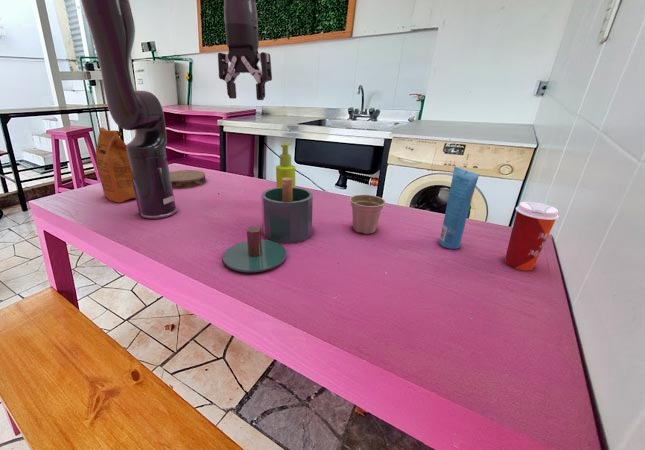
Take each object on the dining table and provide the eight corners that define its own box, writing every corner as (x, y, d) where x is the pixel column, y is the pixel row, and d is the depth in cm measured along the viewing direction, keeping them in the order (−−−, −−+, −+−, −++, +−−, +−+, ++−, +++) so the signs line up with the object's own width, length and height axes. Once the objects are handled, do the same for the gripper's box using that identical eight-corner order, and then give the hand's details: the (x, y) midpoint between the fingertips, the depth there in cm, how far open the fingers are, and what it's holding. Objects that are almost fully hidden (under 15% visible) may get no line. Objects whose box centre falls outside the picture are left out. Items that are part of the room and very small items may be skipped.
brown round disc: (176, 176, 126) (175, 169, 125) (212, 178, 124) (211, 171, 123) (152, 187, 111) (151, 179, 110) (193, 189, 110) (192, 181, 109)
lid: (209, 265, 64) (205, 235, 61) (248, 239, 76) (246, 213, 73) (264, 281, 59) (262, 250, 56) (297, 251, 71) (296, 223, 68)
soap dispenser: (297, 203, 101) (297, 142, 93) (293, 210, 95) (293, 145, 86) (280, 201, 101) (278, 141, 93) (275, 209, 95) (273, 144, 87)
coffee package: (132, 189, 108) (116, 125, 99) (148, 197, 101) (133, 129, 92) (100, 196, 101) (80, 127, 92) (115, 205, 94) (95, 132, 85)
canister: (253, 236, 77) (251, 197, 73) (279, 219, 88) (278, 184, 83) (298, 247, 72) (298, 206, 68) (319, 227, 83) (320, 191, 79)
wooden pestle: (276, 231, 79) (274, 179, 73) (284, 225, 82) (283, 175, 77) (291, 235, 77) (290, 182, 71) (299, 228, 81) (299, 177, 75)
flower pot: (388, 229, 83) (392, 200, 80) (368, 240, 77) (372, 209, 74) (361, 220, 89) (363, 192, 86) (340, 229, 83) (342, 199, 79)
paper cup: (539, 277, 64) (562, 216, 58) (498, 266, 67) (516, 208, 62) (538, 261, 70) (559, 205, 64) (500, 252, 74) (517, 198, 68)
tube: (467, 249, 74) (487, 173, 66) (453, 253, 72) (472, 175, 64) (444, 237, 80) (460, 165, 72) (431, 240, 78) (445, 167, 71)
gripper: (206, 22, 70) (214, 98, 77) (257, 19, 65) (261, 100, 72) (227, 28, 76) (233, 98, 83) (276, 26, 71) (278, 100, 78)
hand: (246, 99), depth 77 cm, fingers open, 8 cm apart
